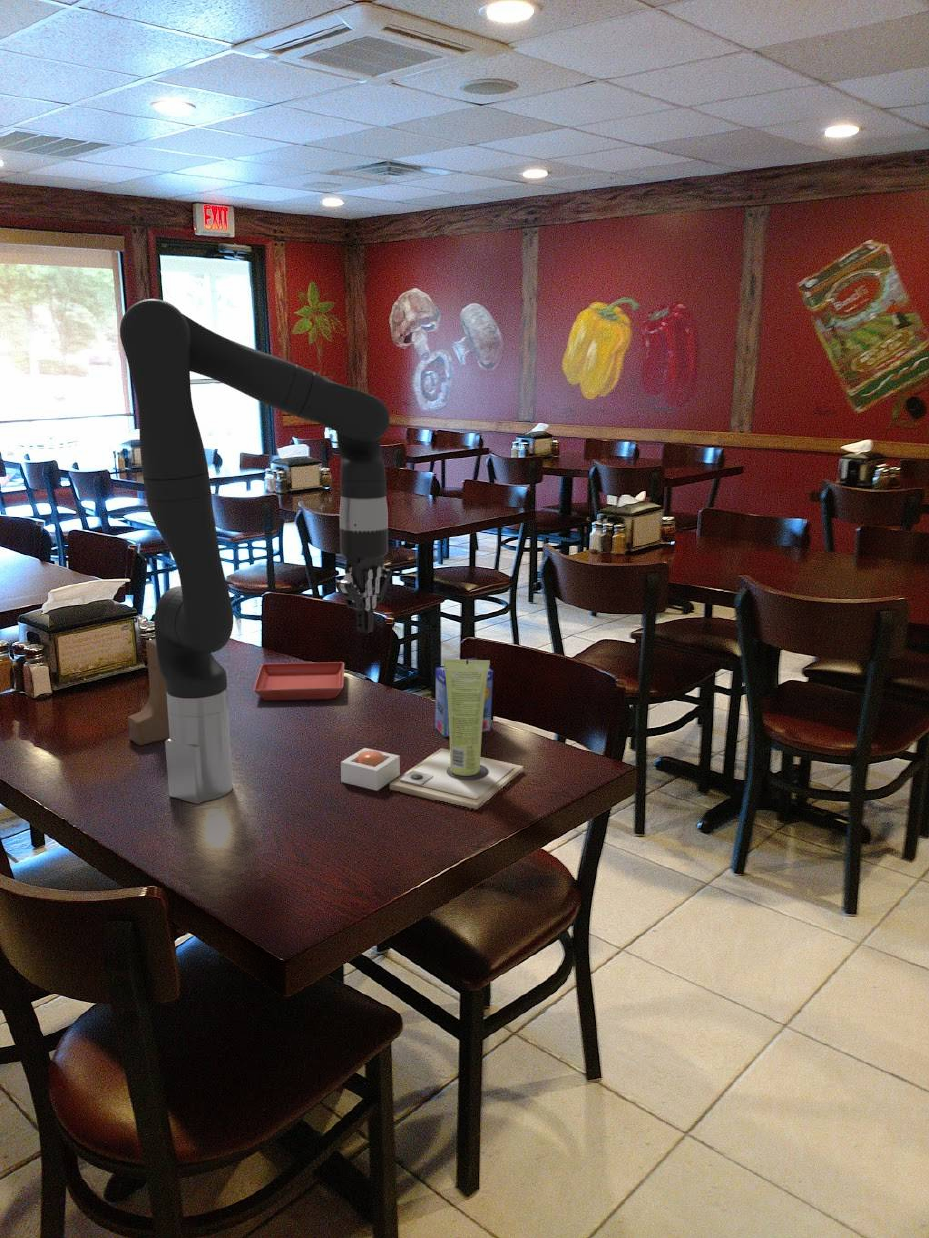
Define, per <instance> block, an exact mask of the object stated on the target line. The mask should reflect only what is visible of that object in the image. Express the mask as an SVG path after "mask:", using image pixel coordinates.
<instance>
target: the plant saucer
mask: <svg viewBox="0 0 929 1238" xmlns="http://www.w3.org/2000/svg"><path fill="white" fill-rule="evenodd" d="M344 676H345V662H343V661H339V662H337V661H335V662H334V661H333V662H331V661H330V662H329V661H327V662H283V663H279V662H278V663H263V664H261V665H260V669H259V671H258V675H257V677H256V680H255V683H254V686H253V691H254V692H255V694H257V695H258V696H259V697H260V698H261V699H262V700H264V701H291V700H293V701H294V700H295V701H296V700H298V701H299V700H300V701H301V700H331V699H335V698H336V697H337V696H338V695H339V694H340V693H341V691H342V690H343V688H344V680H345V679H344Z"/></svg>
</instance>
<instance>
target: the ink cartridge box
mask: <svg viewBox="0 0 929 1238" xmlns="http://www.w3.org/2000/svg"><path fill="white" fill-rule="evenodd" d="M463 660H477V657H471V658H466V659H463ZM493 677H494V670H492V669H491V668H490V667H489V670H488V676H487V683H486V691H485V701H484V711H483V724H482V733H483V732H490V731H491V721H492V720H491V719H492V699H493V681H494V680H493ZM434 720H435V721H434V722H435V724H434V726H435V728H436V730H437V731H438V732H439V733H440V734H441V735H442V736H443V737H444V738H448V737H450V733H449V711H448V697H447V685H446V676H445V669H444V666H440V667H436V668H435V719H434Z"/></svg>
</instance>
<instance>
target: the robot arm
mask: <svg viewBox="0 0 929 1238" xmlns="http://www.w3.org/2000/svg"><path fill="white" fill-rule="evenodd" d="M119 338H120V341H121V346H122V347H123V350H124V354H125V357H126V361H127V364H128V367H129V372H130V375H131V379H132V383H133V387H134V392H135V397H136V403H137V408H138V409H137V410H138V420H139V421H138V422H139V423H138V424H139V425H138V426H139V449H140V451H139V453H140V462H141V471H142V479H143V486H144V491H145V492H144V493H145V497H146V504H147V508H148V511H149V513H150V516H151V518H152V521H153V522H154V525H155V527H156V529H157V532H159V534H160V536H161V538H162V540H163V541H164V543H165V545H166V546H167V548H168V550H169V552H170V555H171V556H172V557H173V560H174V563H175V565H176V570H177V572H178V576H179V581H180V585H179V586H174V587H171V588H169V589H168V590H166V591H164V592H163V594H162V595H161V596H160V598H159V599H158V601H157V603H156V607H155V610H154V617H153V627H154V637H155V638H154V639H155V640H156V648H157V655H158V663H159V669H160V672H161V675H162V677H163V678H164V680H165V683H166V691H167V692H166V693H167V706H168V721H169V735H170V738H167V739H165V743H164V745H165V757H166V760H165V761H166V769H167V771H166V772H167V783H168V784H167V785H168V796H169V797H172V798H176V799H179V800H182V801H186V802H188V803H189V802H190V803H192V804H196V805H199V804H201V803H203V802H207V801H212V800H217V799H219V798H222V797H224V796H226V795H228V794H229V793H230V792H231V791H232V790H233V786H234V785H233V773H232V772H233V769H232V767H233V766H232V751H231V734H230V719H229V717H230V716H229V701H228V700H229V699H228V695H229V694H228V677H227V673H226V669H225V668H224V667H223V666H222V665H221V664H220V663H219V662H218V661H217V660H216V658H215V657H214V656H213V653H217V652H218V651H220V650H222V649H223V648H224V647H225V646H226V645H227V644H228V642H229V641H230V638H231V636H232V632H233V629H234V610H233V605H232V600H231V596H230V592H229V589H228V588H229V587H228V583H227V580H226V576H225V572H224V568H223V563H222V560H221V553H220V552H221V551H220V547H219V541H218V533H217V528H216V522H215V521H216V520H215V516H214V507H213V500H212V499H213V496H212V488H211V479H210V474H209V468H208V467H209V466H208V461H207V456H206V450H205V446H204V443H203V437H202V434H201V431H200V427H199V424H198V421H197V418H196V414H195V410H194V404H193V399H192V391H191V389H192V388H191V386H192V385H191V373H194V374H195V373H196V374H198V375H201V376H204V377H207V378H210V379H212V380H214V381H217V382H219V383H221V384H224V385H226V386H228V387H230V388H232V389H234V390H236V391H239V392H240V393H243V394H244V395H246V396H249V397H250V398H252V399H255V400H257V401H259V402H260V403H263V404H265V405H268V406H269V407H272V408H274V409H277V410H279V411H282V412H283V413H287V414H290V415H292V416H295V417H297V418H299V419H302V420H306V421H310V422H314V423H318V424H320V425H322V426H324V427H325V428H328V429H330V430H333V431H335V432H336V437H337V445H338V451H339V452H338V453H339V460H340V475H339V476H340V501H339V502H340V504H339V553H340V554H341V556H343V557H344V558H345V559H346V562H345V566H344V573H345V575H344V576H343V578H342V580H339V579H338V580H336V582H335V588H336V590H337V592H338V593H339V594H340V597H341V598H342V600H343V602H344V604H345V606H346V607H347V608H349V609H353V610H355V614H356V615H355V617H356V618H355V619H356V620H355V621H356V624H355V625H356V626H355V627H356V632H357V633H359V634H360V633H361V634H364V635H365V634H369V633H372V632H373V631H374V623H375V622H374V619H375V618H374V617H375V616H374V610H375V608H376V607H377V604H380V603H382V602H383V599H384V595H385V594H386V591H387V588H388V586H389V584H390V580H391V577H392V574H393V571H392V569H389V568H386V567H385V566H384V559H383V558H384V557H385V556H386V555H387V554H388V553H389V512H388V511H389V509H388V502H387V471H386V464H385V461H384V460H383V459H382V454H381V447H382V446H381V438H382V437H383V436H384V435H385V434H386V433H387V431H388V429H389V427H390V421H391V417H390V413H389V410H388V408H387V406H386V405H385V403H384V402H383V401H382V400H381V399H380V398H379V397H376V396H374V395H372V394H371V393H370V394H369V393H367V392H364V391H362V390H359V389H356V388H353V387H350V386H348V385H344V384H341V383H338V382H336V381H335V382H334V381H332V380H331V379H329V378H327V377H326V376H323V375H321V374H319V373H317V372H314V371H313V370H310V369H308V368H305V367H303V366H300V365H298V364H296V363H293V362H291V361H288V360H285V359H283V358H280V357H278V356H275V355H272V354H269V353H266V352H264V351H261V350H258V349H254V348H253V347H249V346H247V345H244V344H241V343H239V342H236V341H233V340H231V339H229V338H226V337H224V336H223V335H220V334H219V333H217V332H214V331H212V330H210V329H209V328H207V327H204V326H203V325H201V324H200V323H199V322H197V321H195V320H193V319H191V317H188V316H187V315H185V314H183V313H182V312H181V310H179V309H178V308H177V307H176V306H174V304H172V303H170V302H167V301H165V300H163V299H160V298H159V299H157V298H149V299H143V300H140V301H137V302H136V303H134V304H132V305H131V306H130V307H129V308H128V309H127V310H126V311H125V312H124V314H123V316H122V318H121V322H120V327H119Z"/></svg>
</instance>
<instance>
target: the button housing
mask: <svg viewBox="0 0 929 1238" xmlns="http://www.w3.org/2000/svg"><path fill="white" fill-rule="evenodd" d="M364 751H378V752H380V753H382V755H383V762H382V763H380V764H379V765H377V766H375V767H373V766H368V765H364V764H360V763H358V755H359V754H360V753H361V752H364ZM400 760H401V756H400V755H398V754H394V753H393V754H392V753H389V752H386V751H381V750H376V749H372V748H367V747H363V748H362V749H360V750H359V751H356V752H355V753H354V754H352V755H350V756H349V757H347V758H345V759H343V760H342V761H340V779H341V780H340V781H341V783H344V784H348V785H353V786H357V787H360V788H364V789H369V790H373V791H379V790H380V789H382V788H384V786H386V785H388V784H390V783H391V782H393V781H394V780H396V779H397V778H399V777H400V776H401V773H400V771H401V768H400V767H401V765H400V764H401V763H400V762H401V761H400Z"/></svg>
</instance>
